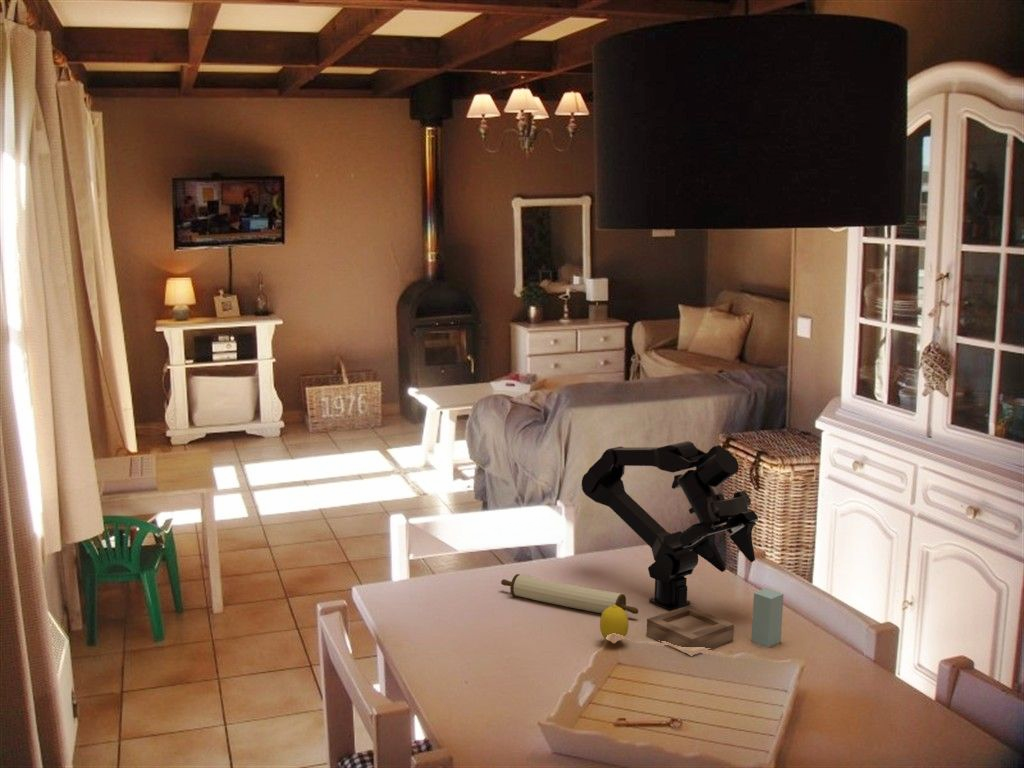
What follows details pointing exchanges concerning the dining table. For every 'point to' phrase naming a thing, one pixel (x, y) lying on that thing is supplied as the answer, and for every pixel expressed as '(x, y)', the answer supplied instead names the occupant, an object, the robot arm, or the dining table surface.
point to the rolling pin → (565, 594)
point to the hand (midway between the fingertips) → (738, 566)
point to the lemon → (614, 621)
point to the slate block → (767, 617)
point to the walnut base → (690, 628)
